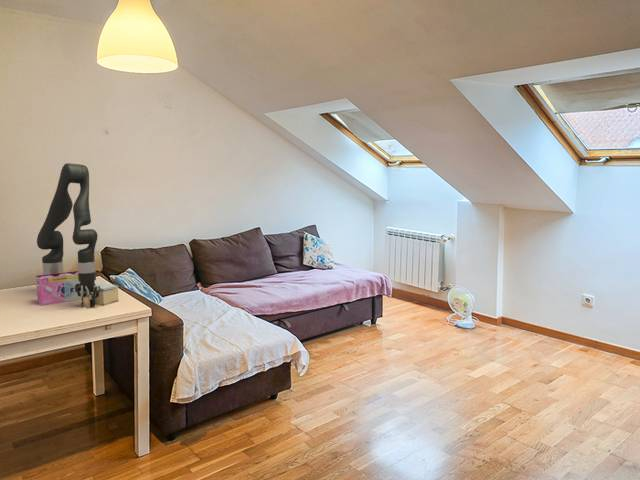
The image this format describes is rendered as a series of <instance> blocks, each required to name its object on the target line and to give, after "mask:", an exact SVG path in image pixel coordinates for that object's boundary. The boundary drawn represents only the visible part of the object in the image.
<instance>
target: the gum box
mask: <svg viewBox="0 0 640 480" xmlns="http://www.w3.org/2000/svg"><path fill="white" fill-rule="evenodd" d="M35 280H36V295H37V296H36V297H37V304H39V305H40V306H47V305H54V303H55V304H62V303H68V301H69V302H73V301H74V302H75V301H82V298H81V297H80V296H78V294H77V290H76V286H75V285H76V284H79V283H80V282H79V280H78V270H73V271H67V272H66V271H65V272H63V273H56V274H47V275H43V274H41V275H36V276H35ZM80 292H81V291H80ZM61 302H62V303H61Z"/></svg>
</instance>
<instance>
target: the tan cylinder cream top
mask: <svg viewBox="0 0 640 480" xmlns="http://www.w3.org/2000/svg"><path fill="white" fill-rule="evenodd" d="M82 306H83V307H82V308H84V307H86V309H89V308H88V307H90V297H89V296H84V297H83V305H82ZM90 308H91V307H90Z"/></svg>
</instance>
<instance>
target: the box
mask: <svg viewBox="0 0 640 480" xmlns="http://www.w3.org/2000/svg"><path fill="white" fill-rule="evenodd" d="M90 293H92V292H90ZM87 296H89V295H88V293H87ZM92 296H93V295H92ZM117 302H119V287H118V288H114V289H109V290H105V291H102V290H100V291H99V297H98V298H95V305H98V306H103V307H104V305H105V306H107V304H108V305H111V304H114V303H117Z"/></svg>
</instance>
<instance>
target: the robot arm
mask: <svg viewBox="0 0 640 480" xmlns="http://www.w3.org/2000/svg"><path fill="white" fill-rule="evenodd" d="M70 184H79V187H80V188H79V190H80V191H79V193H78V196H77V197H76V199H75V201H74V203H73V201H72V198H71V196H70V193H69V186H70ZM89 197H90V171H89V168H88V167H87V166H86V165H84V164H79V163H78V164H77V163H69V162H68V163H65V164H63V166H62V168H61V170H60V174H59V179H58V182H57V186H56V189H55V192H54V195H53V198H52V200H51V203H50V206H49V209H48V213H47V216H46V218H45V220H44V223H43V225H42V227H41V228H40V230H39V232H38V234H37V237H36V244H37V247H38V248H39V249H40V250H42V251H43V250H44V251H45V250H50V251H49V252H48V253H47V254H45V255H44V256H42V257H41V264H42V275H47V274H56V273H64V264H63V263H64V261H63V258H64V236H63V233H62V232H61V231H59V230H56V229H57V228H58V227H59V226H60V225H62V224H63V223H64V222H65V221H66V220H68V218H69V216H70V214H71V213H72V212H71V211H73V220H74V223H73V224H74V228H73V232H72V237H71V238H72V242H73V243H74V244H75V245H77V246H80V245H87V246H86V247H85V248H82V249H78V251H77V271H78V280H79V282H80V283H79V284H76V285H75V286H76V290H77V294H78V296H80V297H81V298H82V300H81V305H82V306H83V297H84V296H87V293H88V295H89V297H90V308H94V307H95V306H96V304H95V298H98V297H99V291H100V286H96V285H95V284H96V283H95V281H96V280H97V276H96V275H97V274H96V273H97V272H96V270H97V269H96V263H95V249H96V245H97V243H98V242H97V241H98V237H99V236H98V232H97V231H96V230H95V229H93V228H91V229H89V228H88V229H86V228H85V229H81V227H84V226H88V225H91V223H92V218H91V212H90V204H89V203H90V202H89V201H90V198H89ZM80 291H81V292H80ZM90 292H92V293H90ZM92 295H93V296H92Z"/></svg>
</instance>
